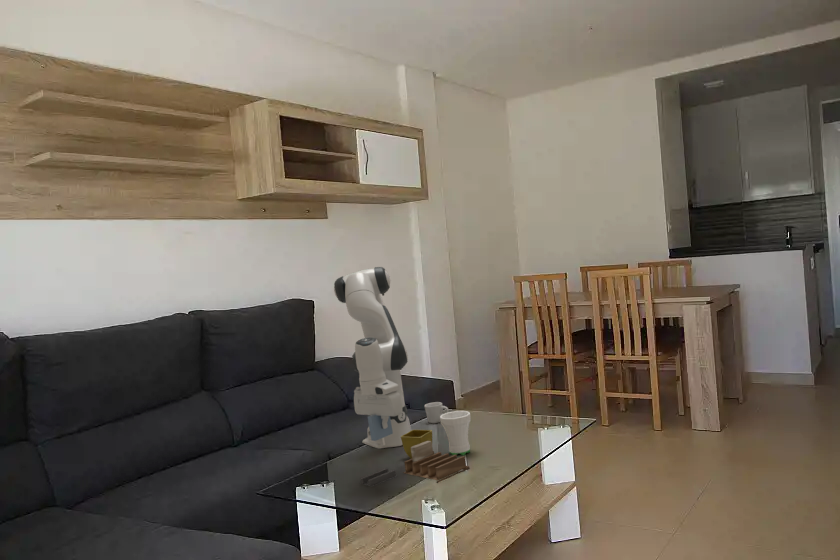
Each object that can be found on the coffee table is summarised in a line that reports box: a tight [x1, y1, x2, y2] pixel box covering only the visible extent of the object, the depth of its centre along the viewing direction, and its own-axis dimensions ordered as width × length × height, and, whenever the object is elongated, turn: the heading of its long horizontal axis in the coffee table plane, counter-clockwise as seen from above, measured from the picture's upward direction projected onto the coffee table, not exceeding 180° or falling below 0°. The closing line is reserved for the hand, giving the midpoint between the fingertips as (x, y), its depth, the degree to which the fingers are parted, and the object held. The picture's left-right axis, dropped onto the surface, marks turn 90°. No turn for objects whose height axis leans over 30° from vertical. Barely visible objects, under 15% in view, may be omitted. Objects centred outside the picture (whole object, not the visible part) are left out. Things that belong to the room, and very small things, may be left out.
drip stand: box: [359, 467, 398, 488], centre depth 224 cm, size 7×11×3 cm, turn 133°
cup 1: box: [424, 401, 450, 424], centre depth 296 cm, size 11×8×8 cm
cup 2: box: [440, 410, 472, 456], centre depth 245 cm, size 11×11×14 cm
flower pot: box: [401, 429, 433, 459], centre depth 246 cm, size 9×9×9 cm
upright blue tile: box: [367, 415, 393, 441], centre depth 224 cm, size 2×8×8 cm, turn 136°
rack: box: [402, 440, 470, 484], centre depth 227 cm, size 17×15×9 cm
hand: (381, 427), depth 224 cm, fingers closed on upright blue tile, 2 cm apart
